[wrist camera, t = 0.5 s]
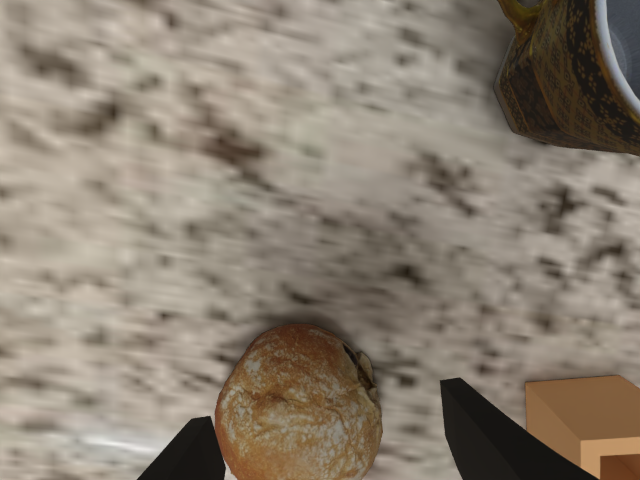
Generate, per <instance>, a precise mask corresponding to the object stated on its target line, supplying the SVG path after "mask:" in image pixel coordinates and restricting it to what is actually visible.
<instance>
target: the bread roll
mask: <svg viewBox="0 0 640 480" xmlns="http://www.w3.org/2000/svg"><path fill="white" fill-rule="evenodd" d="M372 375H373V370H372V367H371V363H370V361H369V359H368V357H367V356H365V355H364V354H363V353H362V352H360V353H358V354H357V353H355V352H354V351H353V350H352V349H351V348H350V347H349V346H348V345H347V344H345V343H344V342H343V341H342V340H341V339H339V338H337V337H336V336H335V335H334V334H333V333H331V332H328V331H325V330H323V329H321V328H319V327H317V326H314V325H310V324H288V325H282V326H279V327H276V328H274V329H271V330H269V331H267V332H264V333H262V334H261V335H260V336H259V337H257V338H256V339H255V340H254V341H253V342H252V343H251V345H250V346H249V347H248V349H247V350H246V352H245V353H244V355H243V356H242V358H241V359H240V360H239V362H238V363H237V365H236V366H235V369H234V370H233V371H232V373H231V375H230V376H229V378H228V379H227V381H226V382H225V384H224V387H223V389H222V391H221V392H220V394H219V397H218V400H217V405H216V409H215V433H216V436H217V440H218V443H219V446H220V450H221V453H222V455H223V458H224V460H225V462H226V463H227V465H228V466H229V468H230V470H231V474H233V475H234V476H235V477H236V478H237V479H238V480H362V478H363V477H364V476H365V475H366V473H367V472H368V470H369V469H370V467H371V466H372V464H373V462H374V459H375V457H376V455H377V452H378V448H379V445H380V441H381V437H382V433H383V429H382V421H381V417H382V413H381V406H380V402H379V398H378V394H377V384H376V383H373V380H372Z"/></svg>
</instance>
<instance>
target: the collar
mask: <svg viewBox="0 0 640 480" xmlns="http://www.w3.org/2000/svg"><path fill="white" fill-rule="evenodd" d="M525 390H526V421H527V432H529V433H530V434H531V435H533V436H534V437H535V438H537V439H538V440H540V441H541V442H543V443H544V444H545V445H547V446H548V447H550V448H551V449H553V450H554V451H555V452H557V453H558V454H560V455H561V456H563V457H564V458H566V459H567V460H569V461H571V462H572V463H574V464H575V465H577V466H579V467H580V468H582V469H583V470H585V471H587V472H588V473H590V474H592V475H593V476H595V477H596V478H598V479H600V480H640V389H639V388H638V387H636V386H635V385H633V384H632V383H630V382H629V381H627V380H626V379H624V378H623V377H621V376H620V375H615V376H602V377H589V378H576V379H563V380H550V381H537V382H525Z"/></svg>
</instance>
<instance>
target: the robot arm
mask: <svg viewBox="0 0 640 480" xmlns="http://www.w3.org/2000/svg"><path fill="white" fill-rule="evenodd" d="M440 386H441V397H442V407H443V418H444V428H445V436H446V439H447V441H448V444H449V447H450V450H451V452H452V455H453V458H454V460H455V463H456V465H457V468H458V470H459V473H460V475H461V477H462V479H463V480H600V479H598V478H596V477H595V476H593V475H592V474H590V473H588V472H587V471H585V470H583V469H582V468H580V467H579V466H577V465H575V464H574V463H572V462H571V461H569V460H567V459H566V458H564V457H563V456H561V455H560V454H558V453H557V452H555V451H554V450H553V449H551V448H550V447H548V446H547V445H545V444H544V443H543V442H541V441H540V440H538V439H537V438H535V437H534V436H533V435H531V434H530V433H529V432H527V431H526V430H525V429H523V428H522V427H521V426H519V425H518V424H517V423H515V422H514V421H513V420H512V419H510V418H509V417H508V416H506V415H505V414H504V413H503V412H501V411H500V410H499V409H498V408H496V407H495V406H494V405H493V404H491V403H490V402H489V401H488V400H487V399H485V398H484V397H483V396H482V395H481V394H479V393H478V392H477V391H476V390H475V389H473V388H472V387H471V386H470V385H469V384H467V383H466V382H465V381H464V380H463V379H461V378H453V379H447V380H440ZM225 470H226V467H225V463H224V460H223V457H222V453H221V450H220V446H219V443H218V440H217V436H216V433H215V430H214V426H213V423H212V420H211V416H206V417H200V418H193V419H191V420H190V421H189V422H188V423H187V424H186V425H185V426H184V427H183V428H182V430H181V431H180V432H179V433H178V434H177V435H176V436H175V437H174V439H173V440H172V441H171V442H170V443H169V444H168V445H167V446H166V448H165V449H164V450H163V451H162V452H161V453H160V454H159V456H158V457H157V458H156V459H155V460H154V461H153V462H152V463H151V464H150V466H149V467H148V468H147V469H146V470H145V471H144V472H143V473H142V474H141V476H140V477H139V478H138V479H137V480H224V477H225Z"/></svg>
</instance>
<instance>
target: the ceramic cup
mask: <svg viewBox="0 0 640 480" xmlns="http://www.w3.org/2000/svg"><path fill="white" fill-rule="evenodd" d="M497 1H498V2H499V4H500V6H501V8H502V10H503V12H504V14H505V16H506V17H507V18H508V19H509V20H510V21H511V23H512V24H513V25H514V28H515V36H514V37H513V38H512V40H511V42H510V44H509V46H508V49H507V51H506V54H505V57H504V59H503V62H502V65H501V67H500V70H499V73H498V75H497V78H496V81H495V84H494V90H495V93H496V95H497V98H498V100H499V102H500V104H501V107H502V109H503V111H504V114H505V116H506V118H507V120H508V123H509V125H510V127H511V129H512V131H513V132H514V133H516V134H519V135H522V136H526V137H529V138H532V139H535V140H538V141H541V142H545V143H548V144H551V145H554V146H558V147H566V148H575V149H587V150H596V151H606V152H616V153H628V154H632V155H636V156H640V0H540V1H539V2H538V3H537V5H535V6H533V7H531V8H526V7H524V6H522V5H520V4H519V3H518V2H517V1H516V0H497Z"/></svg>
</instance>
